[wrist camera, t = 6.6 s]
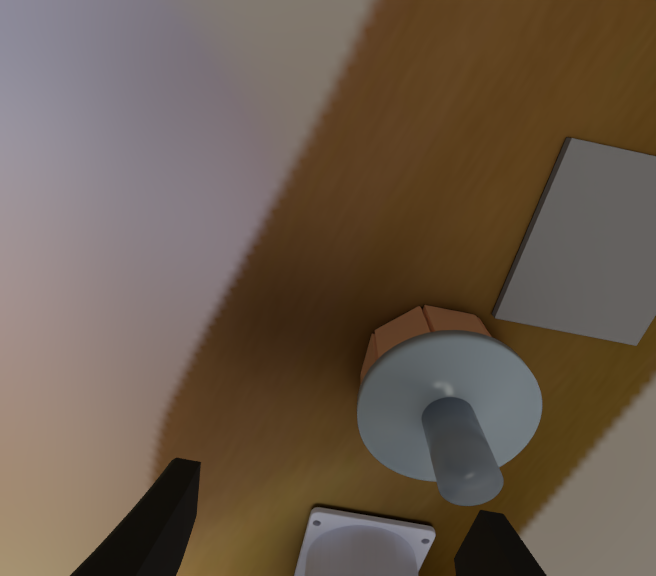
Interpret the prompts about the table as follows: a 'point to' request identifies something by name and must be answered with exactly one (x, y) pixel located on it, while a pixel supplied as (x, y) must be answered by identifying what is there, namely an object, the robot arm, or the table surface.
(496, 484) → the lid
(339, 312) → the table surface
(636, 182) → the mat
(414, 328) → the bowl
